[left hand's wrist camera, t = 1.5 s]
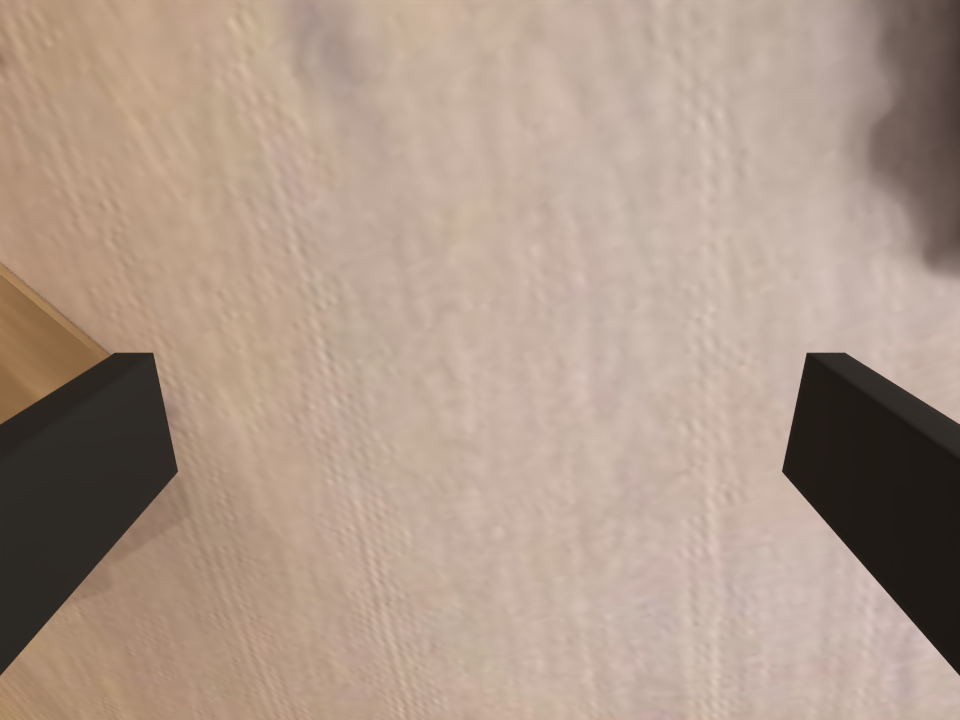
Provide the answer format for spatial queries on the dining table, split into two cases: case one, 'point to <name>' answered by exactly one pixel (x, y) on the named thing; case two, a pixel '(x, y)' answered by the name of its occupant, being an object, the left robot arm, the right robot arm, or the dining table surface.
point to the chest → (36, 347)
